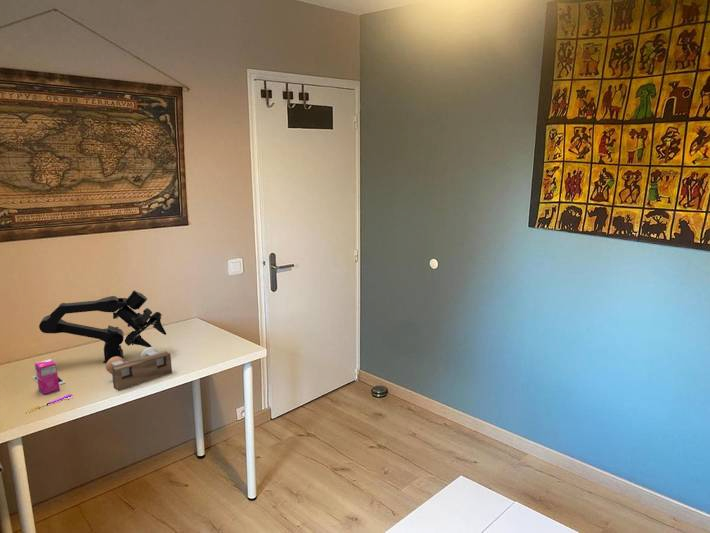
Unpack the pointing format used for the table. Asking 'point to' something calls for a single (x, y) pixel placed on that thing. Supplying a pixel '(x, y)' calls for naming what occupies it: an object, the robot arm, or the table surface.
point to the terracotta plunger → (117, 361)
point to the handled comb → (54, 401)
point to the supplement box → (47, 376)
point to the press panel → (141, 370)
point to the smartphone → (58, 380)
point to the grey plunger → (152, 351)
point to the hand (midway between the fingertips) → (158, 340)
